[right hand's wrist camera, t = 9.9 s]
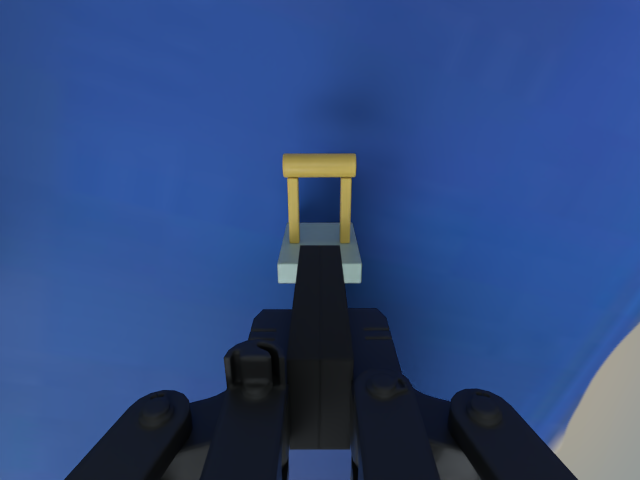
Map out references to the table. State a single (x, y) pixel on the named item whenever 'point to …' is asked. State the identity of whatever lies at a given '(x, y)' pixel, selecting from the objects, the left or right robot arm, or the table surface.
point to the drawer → (319, 231)
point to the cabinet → (319, 464)
